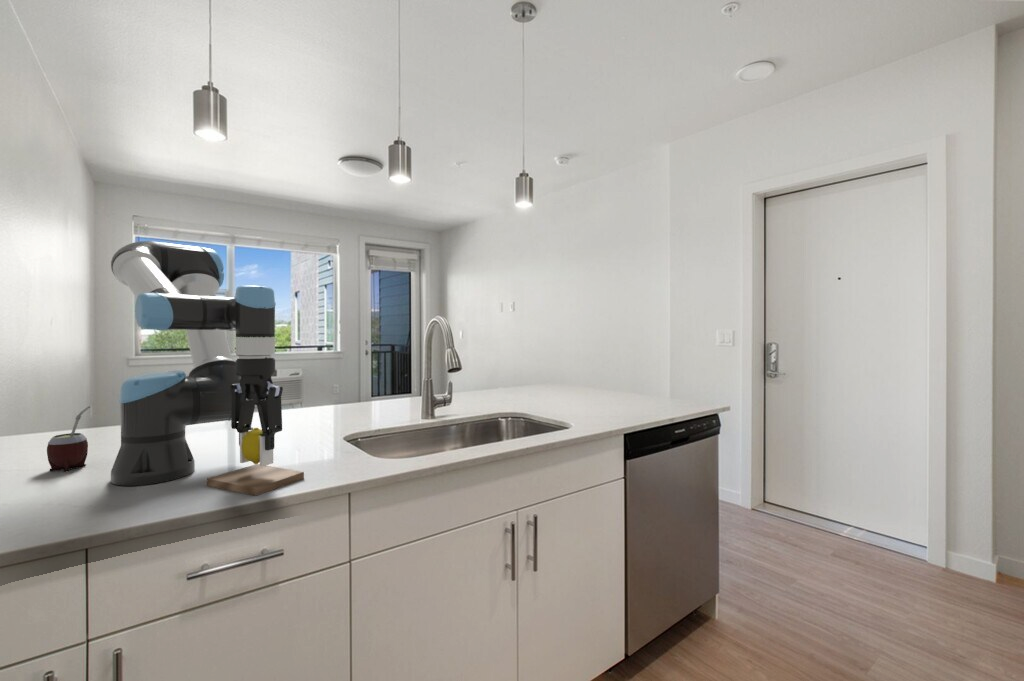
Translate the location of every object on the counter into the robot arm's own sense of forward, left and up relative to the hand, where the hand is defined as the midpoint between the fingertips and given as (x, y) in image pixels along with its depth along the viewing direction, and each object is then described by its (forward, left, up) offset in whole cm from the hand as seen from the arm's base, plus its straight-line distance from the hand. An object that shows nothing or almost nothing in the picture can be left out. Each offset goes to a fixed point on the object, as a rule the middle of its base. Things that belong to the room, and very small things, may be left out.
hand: (256, 462), depth 102 cm
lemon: (0, 0, -1) cm, 1 cm away
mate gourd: (-49, -11, -5) cm, 51 cm away
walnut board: (0, 0, -4) cm, 4 cm away
